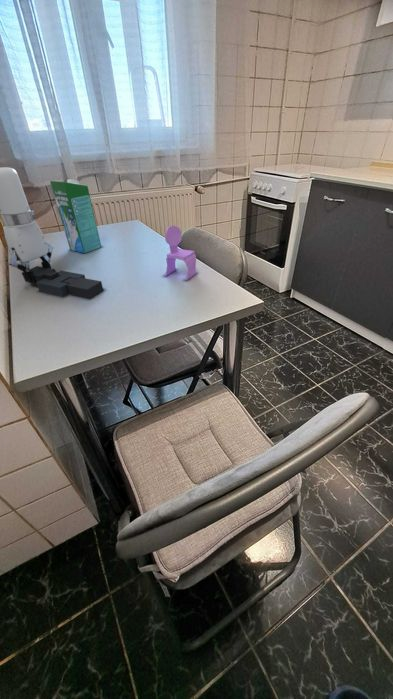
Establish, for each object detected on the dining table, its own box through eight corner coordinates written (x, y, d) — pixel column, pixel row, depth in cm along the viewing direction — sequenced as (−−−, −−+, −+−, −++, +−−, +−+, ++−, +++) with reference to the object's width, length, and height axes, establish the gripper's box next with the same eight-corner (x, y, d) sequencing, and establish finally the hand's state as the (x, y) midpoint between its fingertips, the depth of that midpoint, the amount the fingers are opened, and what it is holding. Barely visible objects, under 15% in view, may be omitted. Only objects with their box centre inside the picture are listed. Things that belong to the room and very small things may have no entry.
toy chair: (186, 282, 92) (183, 232, 83) (162, 277, 96) (157, 229, 87) (198, 272, 98) (197, 225, 89) (176, 268, 101) (173, 222, 92)
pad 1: (25, 281, 94) (21, 272, 92) (40, 274, 98) (37, 265, 96) (50, 287, 90) (46, 277, 88) (64, 279, 94) (61, 270, 92)
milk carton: (101, 247, 123) (86, 178, 107) (84, 253, 117) (65, 181, 102) (87, 243, 127) (70, 177, 112) (69, 249, 121) (49, 180, 106)
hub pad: (39, 291, 90) (35, 282, 88) (63, 278, 97) (60, 270, 95) (63, 297, 86) (60, 287, 85) (86, 283, 94) (84, 274, 92)
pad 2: (62, 292, 89) (58, 283, 87) (76, 284, 93) (73, 275, 91) (90, 299, 85) (87, 289, 83) (103, 290, 89) (101, 281, 87)
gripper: (34, 211, 91) (53, 267, 102) (-19, 225, 79) (9, 287, 89) (51, 212, 88) (69, 270, 99) (-1, 227, 76) (26, 291, 87)
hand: (40, 278), depth 94 cm, fingers closed on pad 1, 6 cm apart
